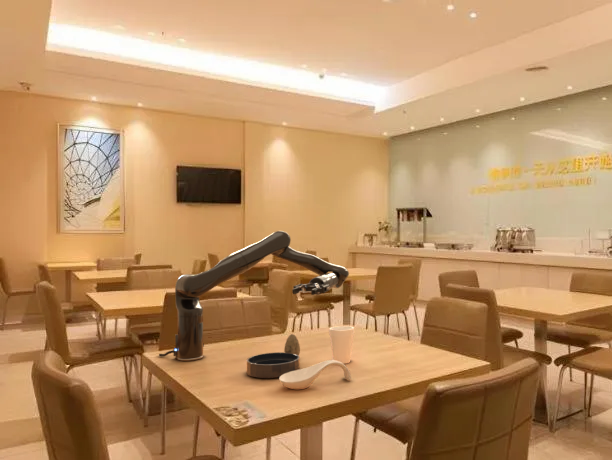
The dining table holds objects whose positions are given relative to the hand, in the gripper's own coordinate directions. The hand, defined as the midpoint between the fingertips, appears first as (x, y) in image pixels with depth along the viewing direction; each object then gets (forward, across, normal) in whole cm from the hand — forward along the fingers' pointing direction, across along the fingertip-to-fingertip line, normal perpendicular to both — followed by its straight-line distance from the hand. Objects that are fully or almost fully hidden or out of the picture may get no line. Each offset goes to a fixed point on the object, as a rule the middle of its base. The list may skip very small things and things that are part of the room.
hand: (302, 292), depth 215 cm
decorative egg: (+10, -1, +25) cm, 27 cm away
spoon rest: (+36, +24, +23) cm, 49 cm away
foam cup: (+7, +19, +26) cm, 33 cm away
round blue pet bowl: (+28, +2, +23) cm, 36 cm away
